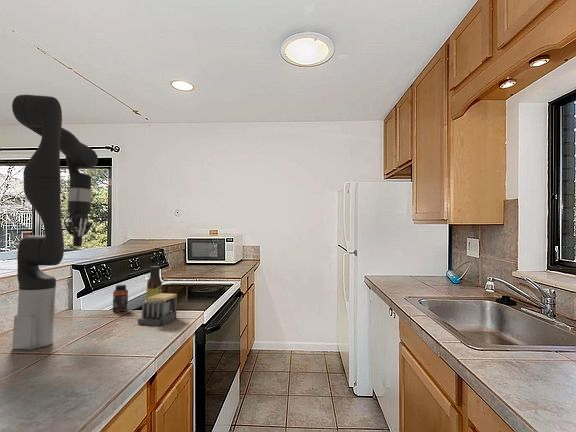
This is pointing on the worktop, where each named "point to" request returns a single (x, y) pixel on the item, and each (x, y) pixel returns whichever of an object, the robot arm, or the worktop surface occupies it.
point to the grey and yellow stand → (166, 318)
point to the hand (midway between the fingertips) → (77, 246)
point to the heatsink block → (155, 309)
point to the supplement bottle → (120, 298)
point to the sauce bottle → (154, 282)
